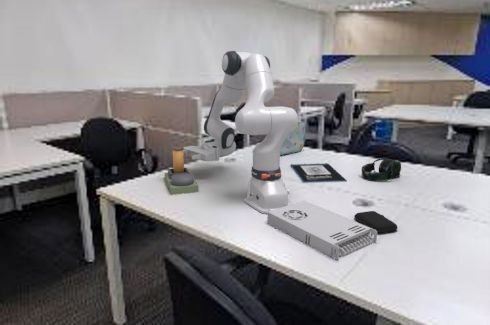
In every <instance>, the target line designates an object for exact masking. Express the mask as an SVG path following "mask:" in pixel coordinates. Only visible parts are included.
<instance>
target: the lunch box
mask: <svg viewBox="0 0 490 325" xmlns="http://www.w3.org/2000/svg"><path fill="white" fill-rule="evenodd" d="M306 128H307V127H306V123H305V122H304V121H302V120H299V119H298V124H297V127H296V128H295V130H294V131H292V132H291V133H290V134H289V135H288V136H287V138H286V139H285V141H284V143H283V145H282V148H281V152H280V156H282V155H283V156H284V155H292V154H294V153H299V152H301V151H302V150H303V148H304V147H305V141H306V131H307V130H306Z"/></svg>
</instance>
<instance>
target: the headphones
mask: <svg viewBox="0 0 490 325" xmlns="http://www.w3.org/2000/svg"><path fill="white" fill-rule="evenodd" d="M379 161H381V162H380V163H379V165H378V172H377V171H376V170H375V169H376V168H375V164H376V163H375V162H379ZM401 170H402V162H400V161H399V160H396V159H392V158H389V157H383V158H377V159H376V160H374V161H373V162H371V163H366V164H364V165H362V167H361V175H362V177H363V179H364V180H367V181H373V182H377V181H381V182H382V181H389V180H393V179H396V178H398V177H400V175H401ZM372 171H373V172H372Z"/></svg>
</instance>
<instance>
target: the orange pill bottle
mask: <svg viewBox="0 0 490 325" xmlns="http://www.w3.org/2000/svg"><path fill="white" fill-rule="evenodd" d="M184 147H185V146H183V145H176V146H172V147H171V150H172V167H173V168H172V169H173V171H174V173H184V168H185V160H184V158H185V155H183V150H184Z"/></svg>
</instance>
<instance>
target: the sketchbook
mask: <svg viewBox="0 0 490 325" xmlns="http://www.w3.org/2000/svg"><path fill="white" fill-rule="evenodd" d="M290 168H291V169H292V170H293V172H294V173H295V174H296V175H297V177H298V178H299V179H300V181H301V182H302V183H303V184H315V183H318V184H319V183H321V184H322V183H347V182H348V180H347V179H346V178H345V177H344V176H343V175H342V174H341V173H339V172H338V171H337V170H336V169H335V168H334V167H332V165H330V163H328V162H321V163H320V162H318V163H317V162H316V163H305V162H304V163H291V164H290Z"/></svg>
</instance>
